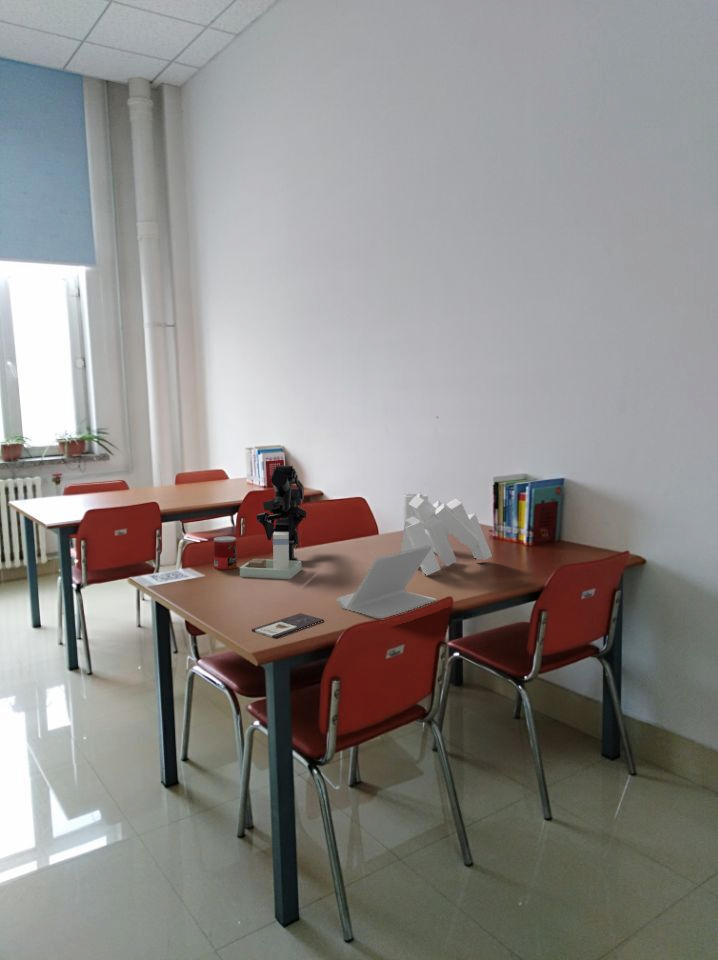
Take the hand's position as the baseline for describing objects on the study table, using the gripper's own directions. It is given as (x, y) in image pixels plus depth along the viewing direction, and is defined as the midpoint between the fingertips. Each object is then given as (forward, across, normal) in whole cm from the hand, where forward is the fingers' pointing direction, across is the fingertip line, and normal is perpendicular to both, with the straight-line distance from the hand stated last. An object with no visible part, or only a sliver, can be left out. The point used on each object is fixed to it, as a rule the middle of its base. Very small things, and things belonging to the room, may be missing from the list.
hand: (279, 538), depth 252 cm
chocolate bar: (+42, +36, -37) cm, 66 cm away
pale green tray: (+14, 0, -3) cm, 14 cm away
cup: (-10, +24, +58) cm, 63 cm away
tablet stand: (+30, +49, -8) cm, 58 cm away
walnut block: (+13, -5, -5) cm, 15 cm away
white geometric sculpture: (+7, +46, +37) cm, 59 cm away
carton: (+14, +3, -1) cm, 14 cm away
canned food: (+10, -19, -6) cm, 22 cm away
